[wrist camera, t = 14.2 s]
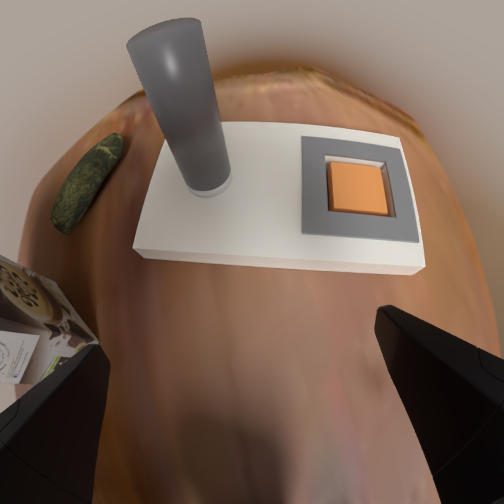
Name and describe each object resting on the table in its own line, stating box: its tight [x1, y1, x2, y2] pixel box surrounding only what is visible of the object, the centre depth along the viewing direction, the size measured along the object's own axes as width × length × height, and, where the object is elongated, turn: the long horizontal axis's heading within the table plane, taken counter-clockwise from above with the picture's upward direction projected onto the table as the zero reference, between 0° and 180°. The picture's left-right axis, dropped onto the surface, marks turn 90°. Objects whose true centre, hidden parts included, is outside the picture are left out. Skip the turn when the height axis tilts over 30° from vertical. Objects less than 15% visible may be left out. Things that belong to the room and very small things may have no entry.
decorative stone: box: [51, 133, 124, 234], centre depth 25 cm, size 11×8×5 cm
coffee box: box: [0, 255, 99, 384], centre depth 14 cm, size 9×6×16 cm
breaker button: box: [327, 162, 388, 216], centre depth 23 cm, size 5×5×2 cm
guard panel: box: [132, 122, 425, 275], centre depth 24 cm, size 24×14×3 cm, turn 85°
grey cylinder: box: [126, 18, 232, 198], centre depth 17 cm, size 4×4×14 cm
